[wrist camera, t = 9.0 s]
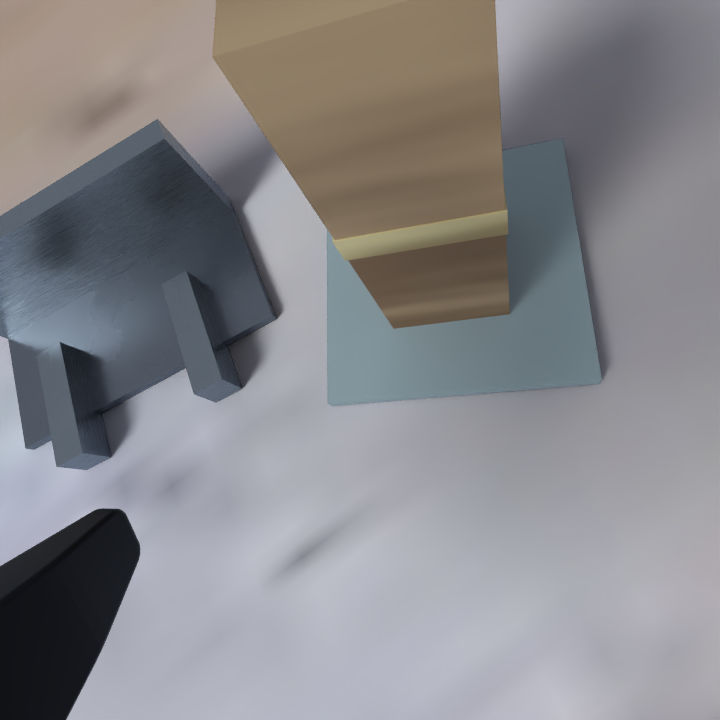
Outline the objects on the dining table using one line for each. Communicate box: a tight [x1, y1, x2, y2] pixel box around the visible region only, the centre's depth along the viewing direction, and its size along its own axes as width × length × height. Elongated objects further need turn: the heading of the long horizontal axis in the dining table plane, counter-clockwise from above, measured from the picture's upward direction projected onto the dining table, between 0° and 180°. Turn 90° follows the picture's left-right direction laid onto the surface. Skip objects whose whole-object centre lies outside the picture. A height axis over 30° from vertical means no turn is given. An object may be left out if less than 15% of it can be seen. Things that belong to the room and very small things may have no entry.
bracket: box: [0, 119, 277, 470], centre depth 20 cm, size 8×12×5 cm
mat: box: [327, 138, 602, 406], centre depth 19 cm, size 9×9×1 cm
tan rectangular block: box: [212, 0, 510, 329], centre depth 13 cm, size 4×4×12 cm
